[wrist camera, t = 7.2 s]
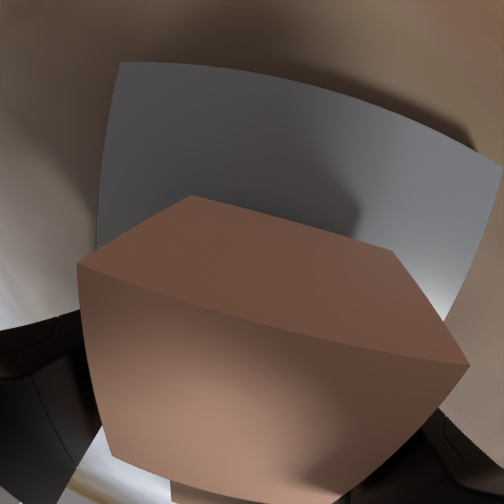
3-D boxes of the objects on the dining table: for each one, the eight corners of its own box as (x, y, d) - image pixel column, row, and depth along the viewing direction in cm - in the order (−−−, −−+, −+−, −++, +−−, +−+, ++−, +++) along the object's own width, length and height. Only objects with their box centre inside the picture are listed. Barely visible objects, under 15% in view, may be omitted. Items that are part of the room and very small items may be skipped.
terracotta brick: (322, 392, 10) (323, 509, 6) (170, 351, 11) (112, 455, 6) (392, 250, 8) (470, 365, 3) (190, 194, 8) (76, 262, 4)
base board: (359, 414, 14) (362, 435, 13) (117, 349, 15) (104, 366, 13) (482, 163, 9) (503, 168, 7) (140, 68, 9) (120, 61, 8)
